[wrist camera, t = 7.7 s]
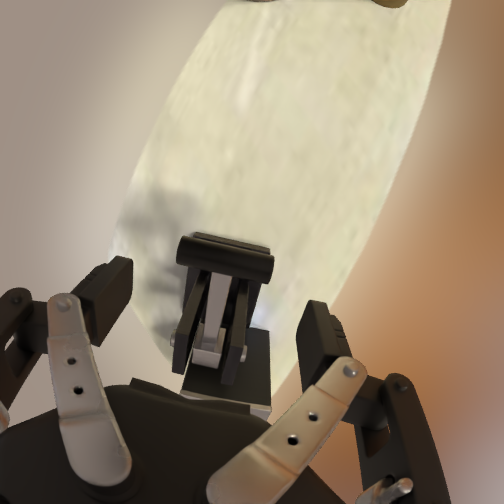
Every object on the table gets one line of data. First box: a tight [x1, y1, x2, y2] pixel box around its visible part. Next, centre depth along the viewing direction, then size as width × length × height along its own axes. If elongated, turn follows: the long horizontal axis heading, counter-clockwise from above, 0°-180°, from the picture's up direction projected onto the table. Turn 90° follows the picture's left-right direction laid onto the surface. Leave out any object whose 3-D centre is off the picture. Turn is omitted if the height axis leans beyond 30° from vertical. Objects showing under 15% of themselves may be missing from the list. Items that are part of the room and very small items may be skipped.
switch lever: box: [176, 236, 274, 369], centre depth 19 cm, size 12×5×2 cm, turn 165°
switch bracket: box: [170, 232, 270, 386], centre depth 26 cm, size 10×8×13 cm
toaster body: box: [179, 319, 272, 421], centre depth 30 cm, size 7×8×12 cm
